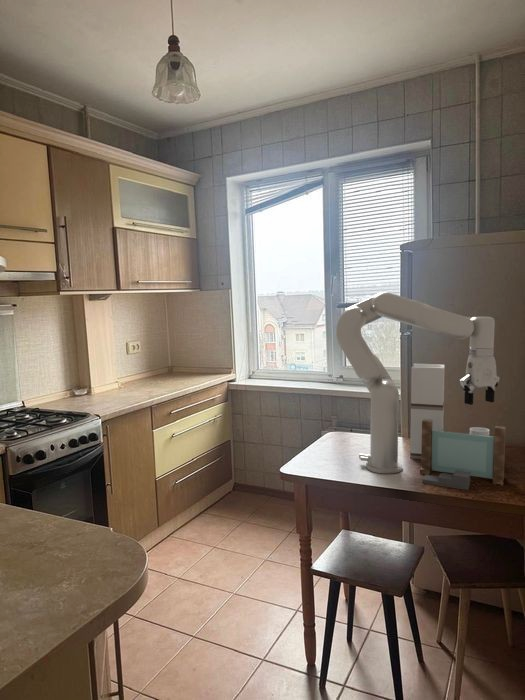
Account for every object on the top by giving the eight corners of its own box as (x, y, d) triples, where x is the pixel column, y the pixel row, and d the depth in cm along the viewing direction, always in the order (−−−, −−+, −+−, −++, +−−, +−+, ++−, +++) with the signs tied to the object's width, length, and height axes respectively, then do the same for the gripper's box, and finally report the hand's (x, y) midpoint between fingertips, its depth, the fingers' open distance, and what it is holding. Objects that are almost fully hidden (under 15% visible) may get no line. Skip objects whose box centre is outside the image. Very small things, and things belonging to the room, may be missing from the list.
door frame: (419, 473, 173) (420, 422, 171) (424, 466, 180) (424, 417, 178) (503, 485, 161) (504, 430, 159) (504, 477, 168) (505, 425, 166)
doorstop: (468, 491, 157) (468, 477, 157) (422, 483, 164) (422, 470, 164) (469, 485, 162) (470, 472, 161) (425, 479, 169) (425, 466, 168)
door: (431, 470, 174) (432, 431, 173) (432, 469, 176) (432, 430, 174) (492, 478, 165) (493, 437, 164) (492, 477, 167) (494, 436, 165)
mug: (483, 465, 181) (484, 432, 180) (465, 460, 186) (466, 429, 185) (495, 459, 187) (496, 427, 186) (478, 455, 192) (479, 424, 191)
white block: (442, 453, 196) (444, 364, 192) (441, 461, 186) (443, 368, 183) (412, 450, 200) (413, 363, 197) (410, 458, 190) (411, 367, 187)
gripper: (471, 355, 162) (469, 407, 164) (508, 353, 169) (506, 402, 171) (453, 353, 169) (451, 403, 170) (490, 351, 176) (488, 398, 177)
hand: (479, 402), depth 171 cm, fingers open, 9 cm apart
